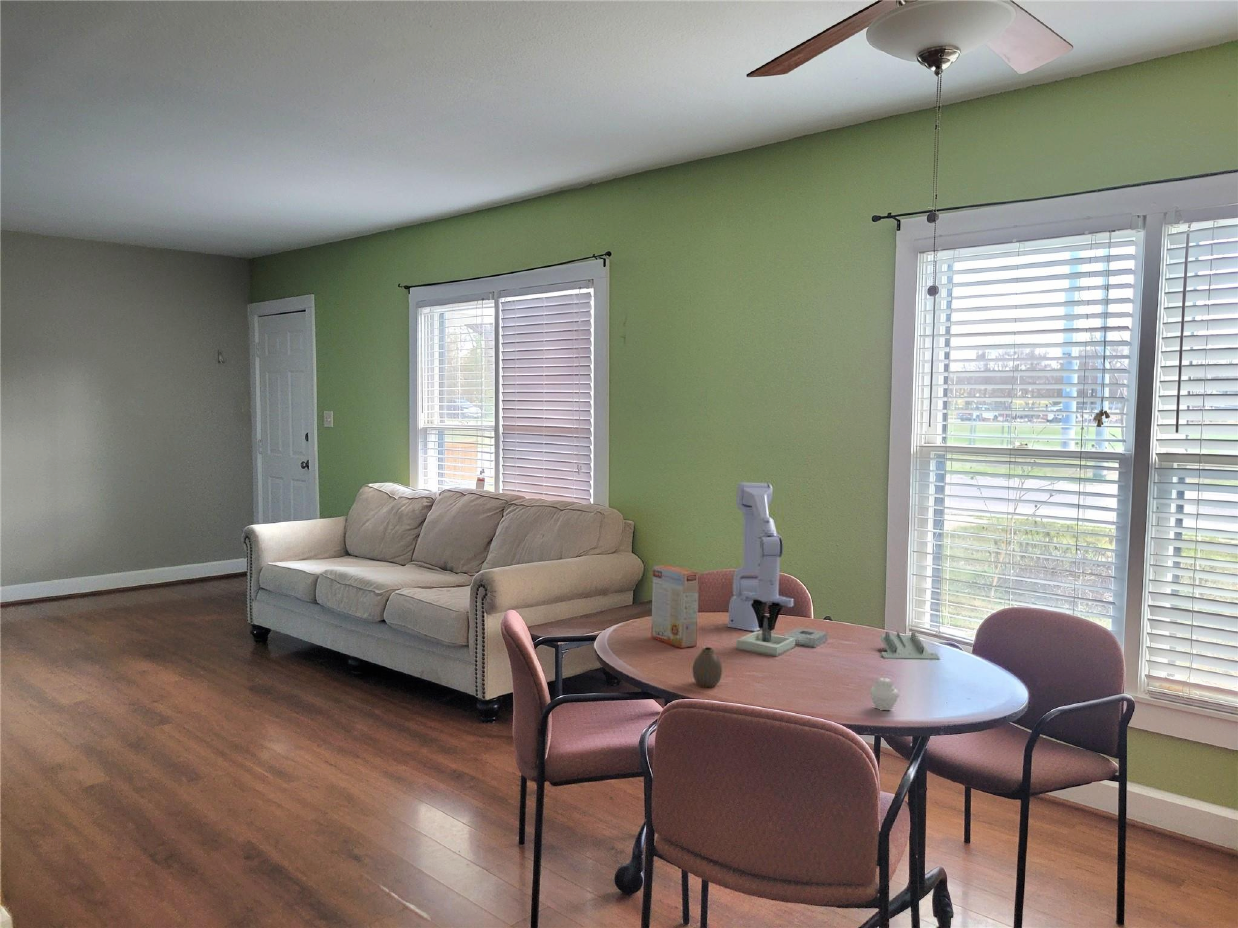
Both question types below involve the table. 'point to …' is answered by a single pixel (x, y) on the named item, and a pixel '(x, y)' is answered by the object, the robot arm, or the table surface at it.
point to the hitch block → (807, 636)
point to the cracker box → (675, 605)
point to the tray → (766, 644)
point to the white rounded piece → (884, 694)
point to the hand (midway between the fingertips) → (766, 628)
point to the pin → (766, 629)
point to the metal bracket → (905, 647)
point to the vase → (707, 668)
